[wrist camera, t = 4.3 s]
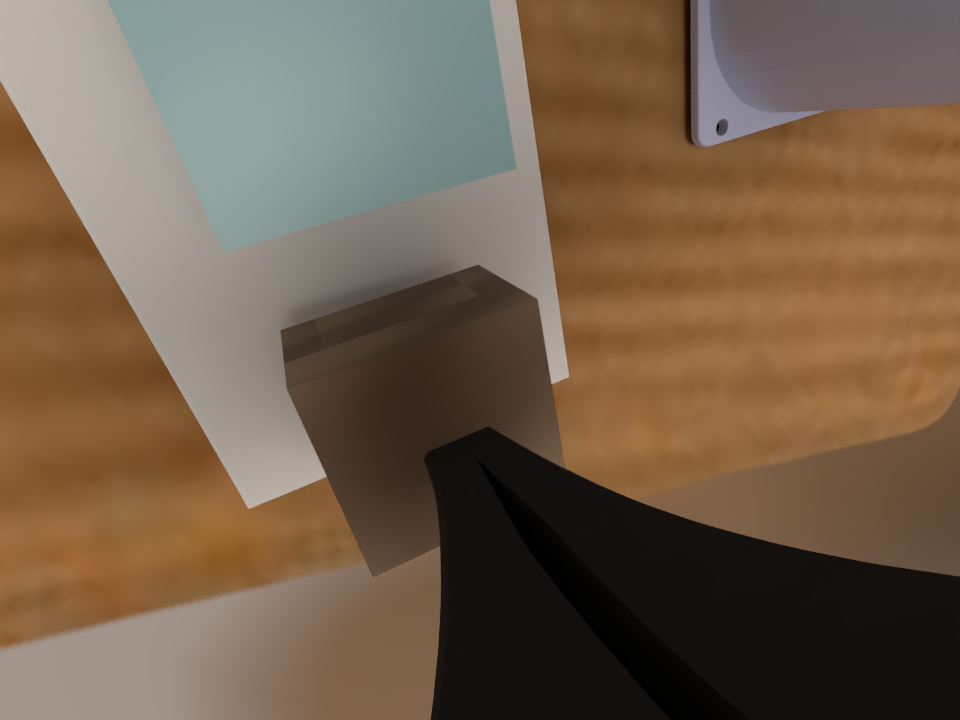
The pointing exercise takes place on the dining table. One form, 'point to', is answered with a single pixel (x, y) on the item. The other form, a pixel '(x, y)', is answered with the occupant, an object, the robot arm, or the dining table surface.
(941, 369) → the dining table surface
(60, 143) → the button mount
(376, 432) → the walnut button
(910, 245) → the dining table surface
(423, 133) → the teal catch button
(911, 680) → the robot arm
